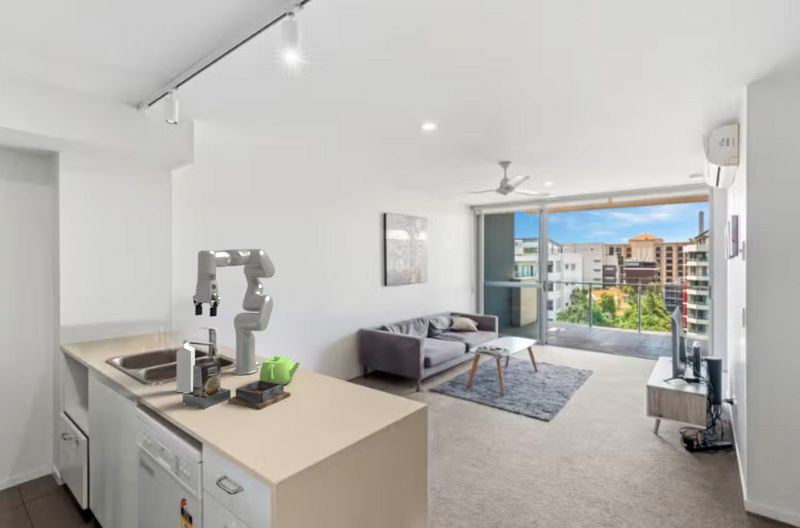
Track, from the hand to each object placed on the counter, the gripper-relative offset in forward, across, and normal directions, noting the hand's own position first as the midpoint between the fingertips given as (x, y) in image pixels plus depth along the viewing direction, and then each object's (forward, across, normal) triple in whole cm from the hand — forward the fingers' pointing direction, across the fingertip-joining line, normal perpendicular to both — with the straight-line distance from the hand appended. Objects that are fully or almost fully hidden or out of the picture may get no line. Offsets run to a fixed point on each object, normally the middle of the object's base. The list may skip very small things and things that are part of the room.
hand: (205, 315), depth 183 cm
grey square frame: (+35, -11, +7) cm, 37 cm away
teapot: (+34, -20, -28) cm, 48 cm away
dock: (+35, -28, -6) cm, 45 cm away
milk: (+35, +9, +2) cm, 36 cm away
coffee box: (+35, -11, +7) cm, 37 cm away
